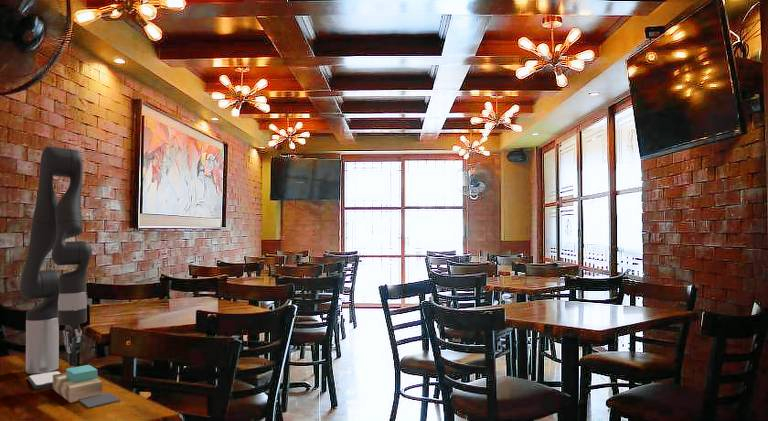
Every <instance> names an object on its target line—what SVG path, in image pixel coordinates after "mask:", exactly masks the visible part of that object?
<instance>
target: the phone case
mask: <svg viewBox="0 0 768 421" xmlns="http://www.w3.org/2000/svg"><path fill="white" fill-rule="evenodd" d="M56 374H61V372H60V370H59V371H56V370H54V371H50V372H45V373H36V374H30V375H29V376H27V380H28V382H29V384H30V385H31V386H32V388H33V389H34V390H44V389H48V388H53V375H56Z"/></svg>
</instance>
